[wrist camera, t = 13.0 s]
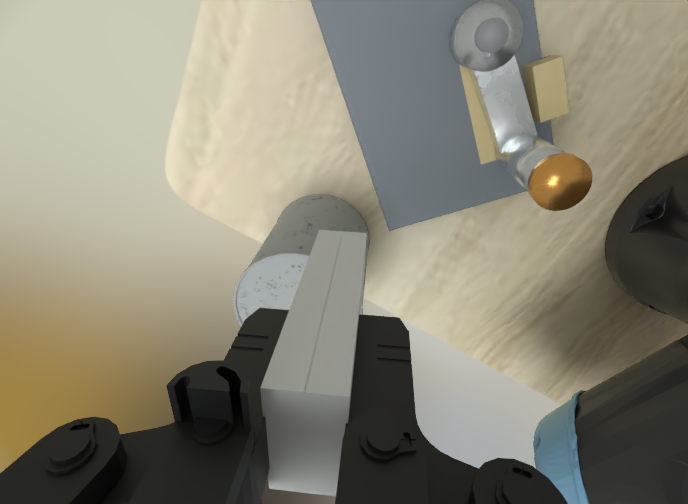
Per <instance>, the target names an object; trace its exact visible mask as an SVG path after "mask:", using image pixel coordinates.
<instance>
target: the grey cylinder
mask: <svg viewBox="0 0 688 504" xmlns="http://www.w3.org/2000/svg"><path fill="white" fill-rule="evenodd" d="M319 230H330V231H345V232H360V233H367V238H366V254H365V269H364V284H365V273H366V263H367V253H368V248H369V233H368V230H367V227H366V224H365V222H364V220H363V219H362V217H361V215H360V214H359V213H358V212H357V211H356V210H355V209H354V208H353V207H352V206H351V205H349V204H348V203H346V202H345V201H343V200H340V199H338V198H336V197H333V196H327V195H310V196H306V197H302V198H300V199H298V200H296V201H294V202H292V203H291V204H290V205H289V206H288V207H286V208H285V209H284V210H283V212H282V213H281V215H280V217H279V218H278V221H277V223H276V225H275V226H274V228H273V229H272V231H271V232H270V234H269V236H268V237H267V239H266V240H265V242H264V243H263V245H262V247H261V248H260V250H259V251H258V253H257V254H256V256H255V258H254V259H253V261H252V263H251V264H250V265H249V267H248V268H247V269H246V270H245V271H244V273H243V274H242V276H241V277H240V279H239V281H238V282H237V285H236V288H235V291H234V310H235V314H236V318H237V320H238V322H239V324H240V326H241V327H242V325H243V323H244V321H245V319H246V318H247V317H249V316H250V315H251V314H252V313H254V312H255V311H256V310H257V309H259V308H270V309H283V310H290V307H291V304H292V301H293V299H294V296H295V293H296V291H297V288H298V285H299V283H300V280H301V277H302V275H303V272H304V269H305V267H306V264H307V261H308V258H309V256H310V253H311V250H312V248H313V245H314V242H315V240H316V237H317V234H318V232H319ZM363 295H364V285H363ZM362 306H363V301H362ZM361 315H363V310H362V313H361Z"/></svg>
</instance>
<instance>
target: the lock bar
mask: <svg viewBox="0 0 688 504" xmlns="http://www.w3.org/2000/svg"><path fill="white" fill-rule="evenodd" d="M491 18H500V19H502V20H504V21H505V22H506V24H507V26H508V29H509V36H508V39H507V42H506V43H505V45H504V46H503V47H502V48H501V49H500V50H498V51H496V52H492V53H486V52H482V51H480V50H479V49H478V48H477V46H476V44H475V40H474V37H475V32H476V30H477V28H478V26H479V25H480V24H481V23H482V22H483V21H485V20H487V19H491ZM522 35H523V22H522V18H521V15H520V13H519V11H518V9H517V8H516V7H515V6H514V5H513V4H512V3H511V2H509V1H507V0H481V1H479V2H477V3H475V4H473V5H471V6H470V7H468V8H467V9H465V10H464V11H463V12H462V13H461V14H460V15H459V16H458V18H457V19H456V21H455V22H454V24H453V27H452V29H451V33H450V49H451V53H452V55H453V57H454V59H455V60H456V61H457V62H458V63H459V64H460V65H461V66H463V67H465V68H467V69H469V70H470V73H471V76H472V79H473V83H474V86H475V89H476V92H477V95H478V98H479V101H480V104H481V107H482V110H483V113H484V116H485V119H486V122H487V125H488V128H489V131H490V134H491V137H492V140H493V143H494V146H495V157H496V159H497V161H498V162H499V163H500V164H501V165H502V166H503V167H504V168H505V169H506V170H507V171H508V172H509V173H510V174H511V175H512V176H513V177H514V178H515V179H516V180H517V181H518V182H519V183H520V184H521V185H522V186H523V187H524V188H525V189H526V190H527V191H528V192H529V194H530V195H531V197H532V198H533V200H534V201H535V202H536V203H537V204H539V205H540V206H541V207H543V208H545V209H548V210H552V211H559V210H565V209H568V208H570V207H573V206H574V205H576V204H577V203H579V202H580V201H581V200H582V199H583V198H584V197H585V196H586V195H587V193H588V191H589V189H590V187H591V184H592V172H591V169H590V167H589V166H588V164H587V163H586V162H585V161H583V160H582V159H580V158H578V157H577V156H575V155H572V154H569V153H566V152H564V151H562V150H560V149H559V148H557V147H555V146H553V145H552V144H550V143H548V142H546V141H545V140H543V139H541V138H539V137H538V135H537V132H536V128H535V124H534V121H533V117H532V114H531V110H530V107H529V103H528V100H527V96H526V93H525V89H524V86H523V82H522V79H521V75H520V72H519V68H518V65H517V61H516V58H515V53H516V51H517V50H518V48H519V46H520V43H521V40H522Z"/></svg>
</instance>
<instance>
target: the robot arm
mask: <svg viewBox="0 0 688 504" xmlns="http://www.w3.org/2000/svg"><path fill="white" fill-rule="evenodd" d="M366 238H367V233H360V232H345V231H330V230H319V232H318V234H317V237H316V240H315V242H314V245H313V248H312V250H311V253H310V256H309V258H308V261H307V264H306V267H305V269H304V272H303V275H302V277H301V280H300V283H299V285H298V288H297V291H296V293H295V296H294V299H293V301H292V304H291V307H290V310H283V309H270V308H259V309H257V310H256V311H255V312H254V313H252V314H251V315H250V316H249V317H247V318H246V319H245V321H244V323H243V325H242V327H241V329H240V331H239V332H238V336H237V337H236V338H235V340H234V342H233V344H232V346H231V349H229V351H228V353H227V355H226V357H225V359H224V361H206V362H202V363H200V364H196V365H193V366H190V367H188V368H187V369H185V370H183V371H182V372H180V373H178V374H177V375H176V376H175V377H174V378H173V379H172V380H171V381H170V382H169V383H168V385H167V389H168V394H169V398H170V402H171V407H172V411H173V415H174V419H175V422H174V423H171V424H169V425H166V426H162V427H159V428H154V429H149V430H143V431H138V432H132V433H126V434H121V435H120V434H119V431H118V428H117V425H115V424H114V423H112V422H111V421H110V420H109V419H105V418H98V417H90V418H83V419H77V420H74V421H72V422H70V423H67V424H65V425H63V426H60V427H58V428H56V429H55V430H54V431H52V432H51V433H49V434H48V435H46V436H45V437H43V438H42V439H41V440H39V441H38V442H37V443H36V444H35V445H33V446H32V447H31V448H30V449H29V450H28V451H26V452H25V453H24V454H23V455H22V456H20V457H19V458H18V459H17V460H16V461H15V462H13V463H12V464H11V465H10V466H9V467H8V468H6V469H5V470H4V471H3V472H1V473H0V504H262V499H261V497H262V494H263V490H264V487H265V483H266V480H267V476H268V480H269V488H270V489H278V490H287V491H295V492H305V493H313V494H322V495H330V496H336V501H335V504H688V335H686V336H685V337H683V338H681V339H679V340H676V341H674V342H673V343H671V344H669V345H668V346H666V347H664V348H662V349H661V350H659V351H657V352H655V353H654V354H652V355H650V356H648V357H647V358H645V359H643V360H641V361H640V362H638V363H636V364H634V365H633V366H631V367H629V368H627V369H626V370H624V371H622V372H620V373H618V374H617V375H615V376H613V377H611V378H609V379H608V380H606V381H604V382H602V383H600V384H598V385H597V386H595V387H593V388H591V389H589V390H587V391H582V390H581V391H579V392H577V393H575V394H574V395H573V397H572V399H571V400H569V401H568V402H566V403H565V404H563V405H562V406H560V407H559V408H557V409H555V410H554V411H553V412H551V413H549V414H548V415H546V416H545V417H544V418H543V419H542V420H541V421H540V422H539V424H538V426H537V428H536V431H535V435H534V443H533V444H534V453H535V457H534V459H535V465H536V469H535V468H534V467H533V466H530V465H528V464H525V463H523V462H520V461H518V460H515V459H503V458H497V459H494V460H491V461H488V462H485V463H484V464H483V465H482V466H481V467H480V468H479V469H478V468H476V467H473V466H471V465H468V464H466V463H464V462H461V461H459V460H456V459H454V458H452V457H450V456H448V455H446V454H444V453H442V452H440V451H439V450H438V449H436V448H435V447H434V446H433V445H432V444H430V443H429V441H428V440H427V439H426V438H425V437H424V435H423V434H422V432H421V430H420V428H419V426H418V424H417V419H416V415H415V402H414V390H413V378H412V365H411V353H410V340H409V331H408V330H407V329H406V327H405V326H404V324H403V323H402V321H401V320H400V318H396V317H384V316H372V315H371V316H370V315H361V313H362V301H363V285H364V269H365V254H366ZM605 255H606V261H607V265H608V268H609V270H610V272H611V274H612V276H613V277H614V279H615V280H616V281H617V282H618V284H619V285H620V286H621V287H622V288H623V289H624V290H625V291H626V292H627V293H628V294H629V295H630V296H632V297H633V298H634V299H635V300H637V301H638V302H640V303H641V304H643V305H644V306H646V307H648V308H651V309H653V310H656V311H658V312H661V313H665V314H669V315H671V316H673V317H675V318H678V319H680V320H682V321H684V322H685V323H687V324H688V156H687V157H685V158H682V159H680V160H678V161H675V162H673V163H671V164H669V165H667V166H666V167H664V168H662V169H660V170H659V171H657V172H656V173H654V174H653V175H652V176H650V177H649V178H647V179H646V180H645V181H644V182H643V183H641V184H640V185H639V186H638V187H637V188H636V189H635V190H634V191H633V192H632V193H631V194H630V195H629V196H628V197H627V199H626V200H625V201H624V202H623V204H622V205H621V206H620V208H619V209H618V211H617V213H616V214H615V216H614V218H613V220H612V222H611V225H610V227H609V230H608V234H607V238H606V245H605Z"/></svg>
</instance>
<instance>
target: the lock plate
mask: <svg viewBox="0 0 688 504" xmlns="http://www.w3.org/2000/svg"><path fill="white" fill-rule="evenodd" d="M479 1H481V0H311V3H312V6H313V9H314V12H315V15H316V17H317V20H318V23H319V26H320V29H321V32H322V35H323V38H324V41H325V44H326V47H327V50H328V53H329V56H330V59H331V61H332V64H333V67H334V70H335V73H336V76H337V79H338V82H339V85H340V88H341V91H342V94H343V97H344V100H345V102H346V105H347V108H348V111H349V114H350V117H351V120H352V123H353V126H354V129H355V132H356V135H357V138H358V141H359V143H360V146H361V149H362V152H363V155H364V158H365V161H366V164H367V167H368V170H369V173H370V176H371V179H372V182H373V184H374V187H375V190H376V193H377V196H378V199H379V202H380V205H381V208H382V211H383V214H384V217H385V220H386V223H387V225H388V228H389V231H390V230H394V229H397V228H401V227H404V226H407V225H411V224H414V223H418V222H421V221H425V220H428V219H432V218H435V217H438V216H442V215H445V214H449V213H452V212H456V211H459V210H462V209H466V208H469V207H473V206H476V205H480V204H483V203H487V202H490V201H493V200H497V199H500V198H504V197H507V196H511V195H514V194H517V193H521V192H524V191H527V190H526V189H525V188H524V187H523V186H522V185H521V184H520V183H519V182H518V181H517V180H516V179H515V178H514V177H513V176H512V175H511V174H510V173H509V172H508V171H507V170H506V169H505V168H504V167H503V166H502V165H501V164H500V163H499V162H498V161H497V159H496V157H495V146H494V143H493V140H492V137H491V134H490V131H489V128H488V125H487V122H486V119H485V116H484V113H483V110H482V107H481V104H480V101H479V98H478V95H477V92H476V89H475V86H474V83H473V79H472V76H471V73H470V70H469V69H467V68H465V67H463V66H461V65H460V64H459V63H458V62H457V61H456V60H455V59H454V57H453V55H452V53H451V49H450V33H451V29H452V27H453V24H454V22H455V21H456V19H457V18H458V16H459V15H460V14H461V13H462V12H463V11H464V10H465V9H467V8H468V7H470V6H471V5H473V4H475V3H477V2H479ZM507 1H509V2H511V3H512V4H513V5H514V6H515V7H516V8H517V9H518V11H519V13H520V15H521V18H522V22H523V35H522V40H521V43H520V46H519V48H518V50H517V51H516V53H515V58H516V61H517V65H518V68H519V72H520V75H521V79H522V82H523V86H524V89H525V93H526V96H527V100H528V103H529V107H530V110H531V114H532V117H533V121H534V124H535V128H536V132H537V135H538V137H539V138H541V139H543V140H545V141H546V142H548V143H550V144H552V145H553V138H552V131H551V123H550V120H551V119H554V118H557V117H560V116H563V115H566V114H569V105H568V97H567V88H566V80H565V72H564V63H563V56H548V57H545V58H543V59H542V58H541V51H540V44H539V37H538V30H537V22H536V15H535V8H534V1H533V0H507ZM508 36H509V29H508V26H507V24H506V22H505V21H504V20H502V19H500V18H491V19H487V20H485V21H483V22H482V23H481V24H480V25H479V26H478V28H477V30H476V32H475V37H474V40H475V44H476V46H477V48H478V49H479V50H480V51H482V52H486V53H492V52H496V51H498V50H500V49H501V48H502V47H503V46H504V45H505V43H506V42H507V39H508ZM553 146H554V145H553Z"/></svg>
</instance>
